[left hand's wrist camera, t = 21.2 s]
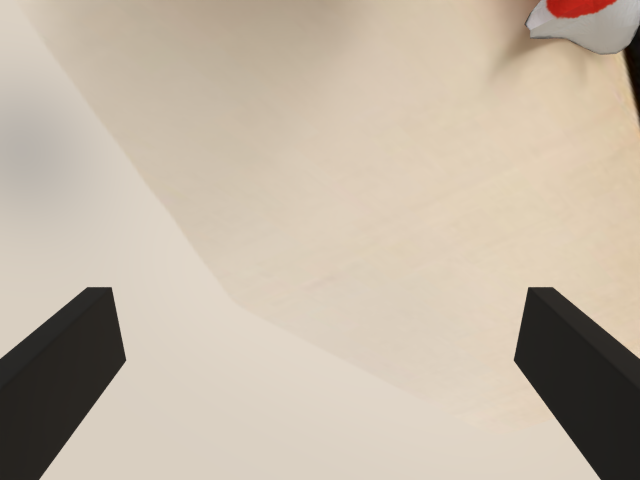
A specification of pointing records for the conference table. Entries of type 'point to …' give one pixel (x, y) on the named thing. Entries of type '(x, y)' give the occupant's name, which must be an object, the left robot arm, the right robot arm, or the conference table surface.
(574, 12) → the fish
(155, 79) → the conference table surface
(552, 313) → the left robot arm
